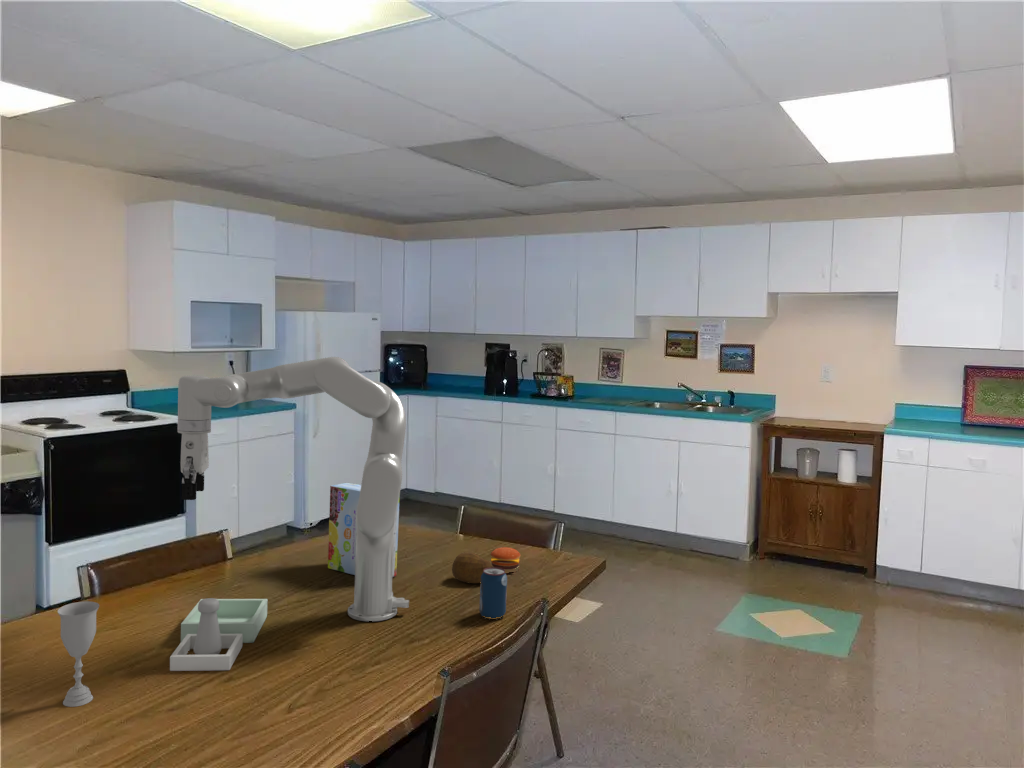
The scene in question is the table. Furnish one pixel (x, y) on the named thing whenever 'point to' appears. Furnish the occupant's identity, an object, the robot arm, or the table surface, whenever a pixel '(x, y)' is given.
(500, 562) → the hamburger
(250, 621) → the green bin
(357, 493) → the snack box
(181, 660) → the grey square frame
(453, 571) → the potato
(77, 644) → the chalice
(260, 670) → the table surface
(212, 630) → the salt shaker
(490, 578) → the soda can
